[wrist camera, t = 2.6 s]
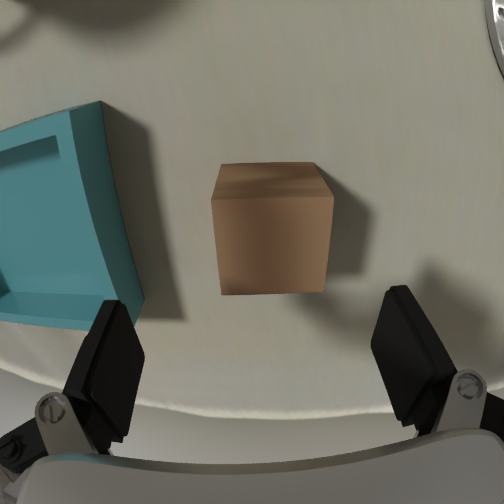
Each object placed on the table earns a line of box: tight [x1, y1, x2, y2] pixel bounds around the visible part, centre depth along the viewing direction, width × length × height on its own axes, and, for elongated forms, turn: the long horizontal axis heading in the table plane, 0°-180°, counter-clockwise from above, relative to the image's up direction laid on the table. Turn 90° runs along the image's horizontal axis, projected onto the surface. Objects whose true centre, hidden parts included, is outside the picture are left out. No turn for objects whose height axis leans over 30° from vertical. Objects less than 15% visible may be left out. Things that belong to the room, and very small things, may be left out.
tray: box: [0, 101, 144, 331], centre depth 17 cm, size 16×14×4 cm
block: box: [211, 162, 334, 295], centre depth 16 cm, size 5×5×5 cm
